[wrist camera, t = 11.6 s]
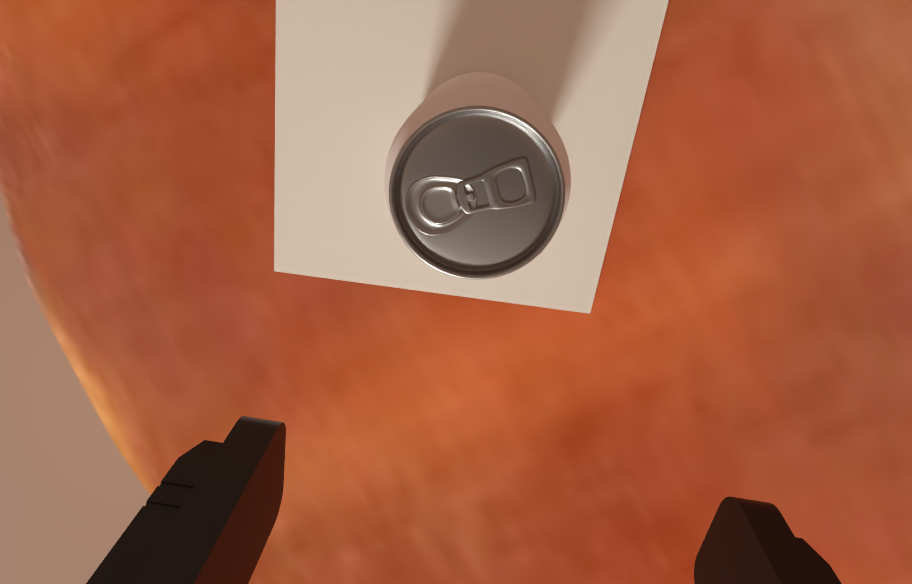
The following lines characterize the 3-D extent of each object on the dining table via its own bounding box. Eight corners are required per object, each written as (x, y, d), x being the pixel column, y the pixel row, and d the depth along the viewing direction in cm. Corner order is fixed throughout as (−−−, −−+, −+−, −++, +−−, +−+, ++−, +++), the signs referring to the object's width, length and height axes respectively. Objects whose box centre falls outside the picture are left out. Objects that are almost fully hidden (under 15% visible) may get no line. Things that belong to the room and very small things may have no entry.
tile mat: (675, -45, 27) (680, -47, 26) (587, 307, 34) (590, 313, 33) (282, -104, 26) (276, -108, 26) (278, 266, 34) (274, 270, 33)
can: (397, 93, 29) (345, 125, 18) (526, 53, 28) (554, 62, 17) (436, 216, 31) (410, 311, 20) (555, 183, 30) (597, 265, 19)
